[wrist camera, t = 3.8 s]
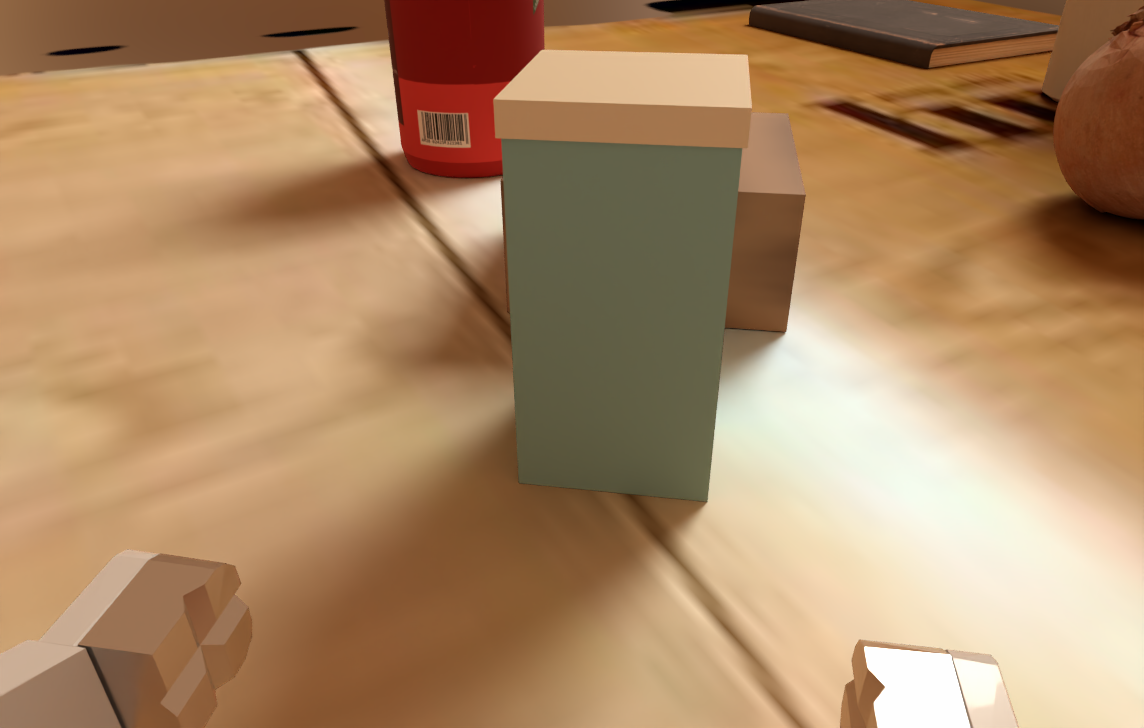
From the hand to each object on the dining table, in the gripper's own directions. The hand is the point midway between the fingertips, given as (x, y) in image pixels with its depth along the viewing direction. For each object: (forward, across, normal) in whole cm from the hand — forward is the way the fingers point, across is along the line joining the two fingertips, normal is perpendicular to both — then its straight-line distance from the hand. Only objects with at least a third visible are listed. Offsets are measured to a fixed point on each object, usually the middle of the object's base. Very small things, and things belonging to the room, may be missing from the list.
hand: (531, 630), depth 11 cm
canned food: (+37, -11, -6) cm, 39 cm away
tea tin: (+12, 0, -6) cm, 13 cm away
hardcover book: (+78, +18, -6) cm, 80 cm away
